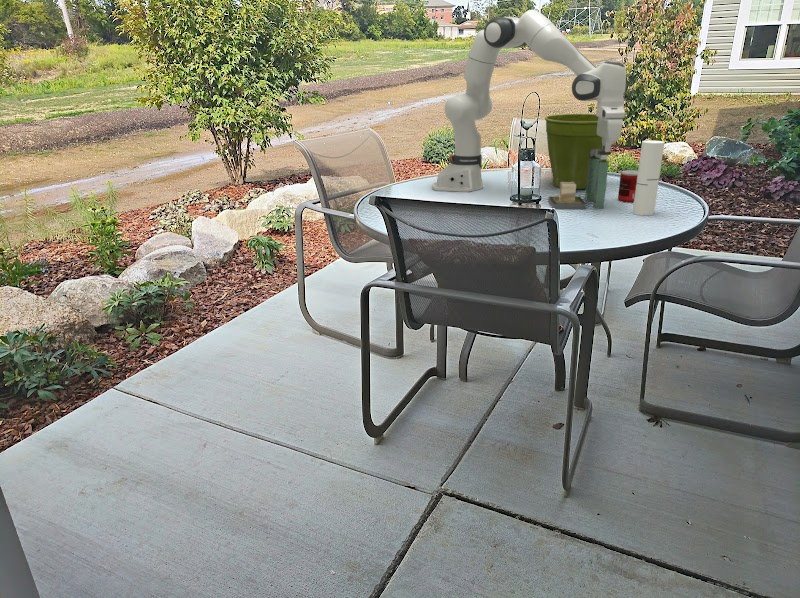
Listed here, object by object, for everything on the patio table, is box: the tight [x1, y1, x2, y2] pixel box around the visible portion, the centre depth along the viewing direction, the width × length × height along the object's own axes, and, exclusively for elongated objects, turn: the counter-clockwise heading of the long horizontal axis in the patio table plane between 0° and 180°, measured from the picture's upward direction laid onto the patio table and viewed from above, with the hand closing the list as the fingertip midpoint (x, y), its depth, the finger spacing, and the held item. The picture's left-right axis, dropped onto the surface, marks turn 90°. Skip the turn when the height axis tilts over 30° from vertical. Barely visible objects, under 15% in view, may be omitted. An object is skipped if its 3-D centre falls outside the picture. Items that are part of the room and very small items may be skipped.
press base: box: [547, 157, 609, 210], centre depth 223 cm, size 19×17×17 cm
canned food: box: [617, 169, 638, 203], centre depth 228 cm, size 8×8×11 cm
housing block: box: [558, 182, 577, 201], centre depth 222 cm, size 5×5×6 cm
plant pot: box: [544, 113, 607, 190], centre depth 251 cm, size 30×30×29 cm
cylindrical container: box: [632, 140, 665, 216], centre depth 206 cm, size 7×7×25 cm
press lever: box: [589, 149, 612, 160], centre depth 218 cm, size 16×4×4 cm, turn 175°
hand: (606, 151), depth 212 cm, fingers closed on press lever, 2 cm apart
